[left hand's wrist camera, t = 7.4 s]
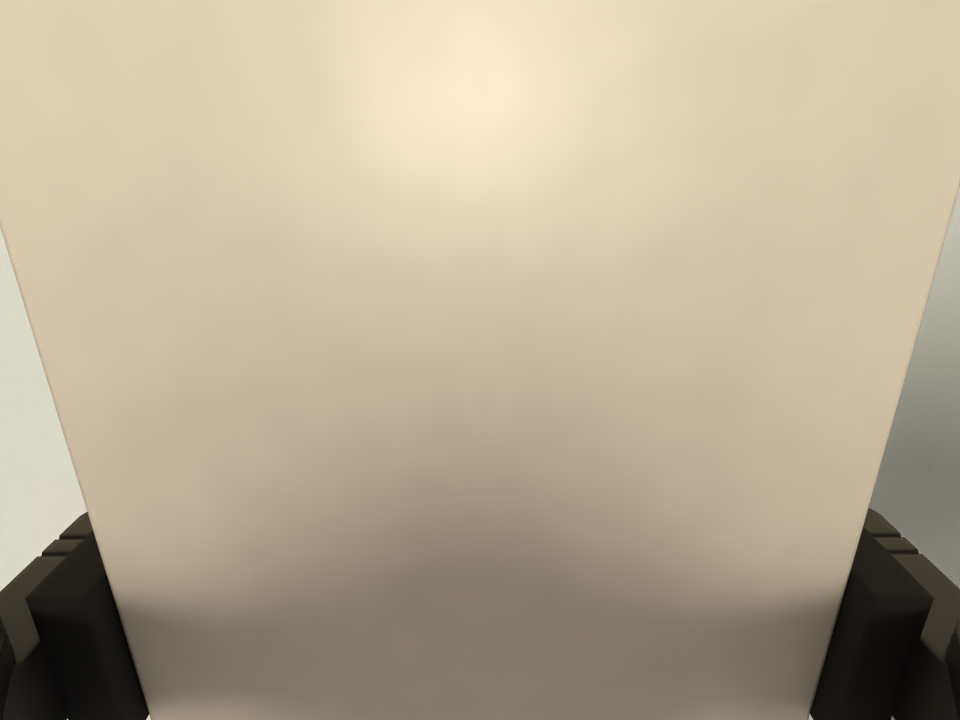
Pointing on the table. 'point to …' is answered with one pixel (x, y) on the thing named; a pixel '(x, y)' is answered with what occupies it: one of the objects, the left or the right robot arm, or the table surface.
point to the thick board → (477, 336)
